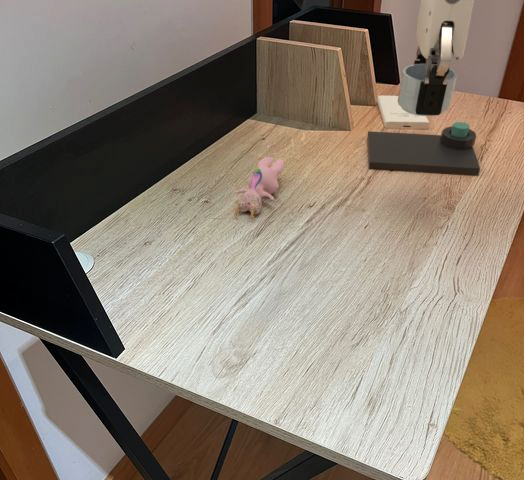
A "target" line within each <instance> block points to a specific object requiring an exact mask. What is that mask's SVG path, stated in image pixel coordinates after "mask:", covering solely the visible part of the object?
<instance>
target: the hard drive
mask: <svg viewBox="0 0 524 480" xmlns="http://www.w3.org/2000/svg"><path fill="white" fill-rule="evenodd" d="M376 104H377V106H378V110H379V113H380V116H381V120H382V122H383V126H384V129H387V130H429V128H430V120H429V119H428V116H419V115H414V114H411V113H408V112H406V111H404V110H403V109H402V108H401V106H400V105H399V104H398V95H382V94H381V95H378V96H377V100H376Z"/></svg>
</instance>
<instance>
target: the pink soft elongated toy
mask: <svg viewBox="0 0 524 480" xmlns="http://www.w3.org/2000/svg"><path fill="white" fill-rule="evenodd" d="M274 159H275V157H272V156H264V157H263V158H261V159H260V160H259V161H258V163H257V165H256V168H255V169H254V171H253V173H252V174H251V175H250V177H248V179H247V181H246V185H247V186H248V188H241V189H237V190H235V194H236V195H239V194H241V196H240V198H239V199H238V203H237V205H236V207H235V210H234V213H233V216H235V218H236V219H237V218H238V217H239V218H240V214H239V212H241V213H247V212H249V213H250V215H249V217H248V219H251V221H252V222H253V221H255V216H256V215H258V214H260V212H261V210H262V207H263V202H262V199H263V198H269V200H270V201H271V202H274V201H275V197H274V196H273V195H272V194H274V193H276V192H277V191H278V189H279V187H280V186H279V181H278V177H279V176H280V175H281V174H282V173H283V170H284V167H285V160H284V159H282V158H280V159H277V160H275V161H274ZM273 161H274V162H273ZM254 215H255V216H254Z"/></svg>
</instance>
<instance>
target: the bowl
mask: <svg viewBox="0 0 524 480" xmlns="http://www.w3.org/2000/svg"><path fill="white" fill-rule="evenodd" d="M425 65H426V64H423V63H422V64H414V63H413V64H410V65H407V66H405V67H404V68H403V69H402V71H401V78H400V84H399V91H398V95H397V96H398V104H399V105H400V106H401V108H402V109H403V110H404V111H406V112H408V113H411V114H414V115H417V114H416V111H415V110H416V105H417V99H418V94H419V89H420V84H421V81H424V74H425ZM434 65H436V64H431V70H432V68H433V66H434ZM457 80H458V73H457V72H456V71H455V70H454V69H452V68H450V67H449V75H448V81H447V87H446V92H445V96H444V101H443V105H442V110H441V113H440V114H439V115H442V114H444V113H445V112H446V111H449V109H450V108H451V105H452V101H453V97H454V92H455V87H456V84H457ZM419 116H427V117H436V116H437V115H419Z"/></svg>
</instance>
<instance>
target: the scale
mask: <svg viewBox="0 0 524 480" xmlns="http://www.w3.org/2000/svg"><path fill="white" fill-rule="evenodd" d="M452 127H453V125H452V126H447V127H445V128H444V129H442V131H441V133H440V134H426V133H423V134H422V133H405V132H391V131H390V132H388V131H373V130H372V131H371V130H368V131H367V134H366V135H367V136H366V146H367V158H368V159H367V162H368V170H373V171H374V170H375V171H390V172H391V171H392V172H407V173H408V172H409V173H424V174H426V173H427V174H442V175H443V174H444V175H458V176H472V177H473V176H476V177H478V176H479V174H480V171H481V166H480V164H479V160H478V157H477V154H476V152H475V149H474V145H475V144H476V141H477V133H476V132H475V131H474V130H472V129H470V128H469V131H468V135H467V137H464V138H461V137H455V136H452V135H451V131H452Z"/></svg>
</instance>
